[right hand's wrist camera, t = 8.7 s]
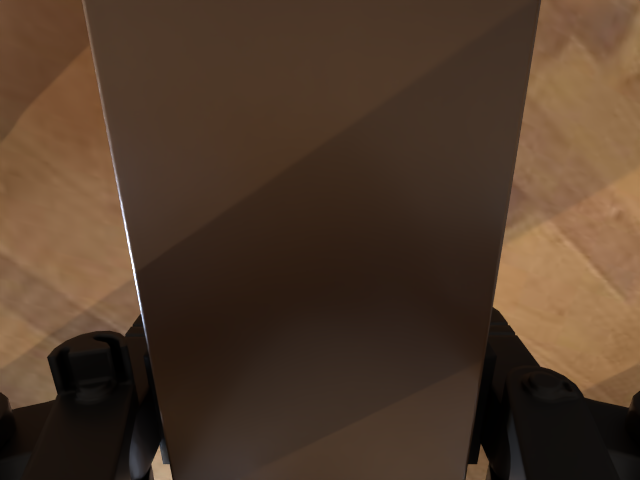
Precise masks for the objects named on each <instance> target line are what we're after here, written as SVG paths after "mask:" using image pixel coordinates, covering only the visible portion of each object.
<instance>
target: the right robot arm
mask: <svg viewBox="0 0 640 480" xmlns="http://www.w3.org/2000/svg"><path fill="white" fill-rule="evenodd" d="M125 335H126V336H125V337H124V336H123V335H122V334H120V333H116V332H112V331H95V332H91V333H86V334H82V335H79V336H77V337H74V338H72V339H69V340H67V341H65V342H64V343H62V344H61V345H59V346H58V347H56V348H55V349H54V350H53V351H52V352H51V353H50V354H49V356H48V357H47V359H48V362H49V366H50V369H51V373H52V376H53V380H54V383H55V387H56V390H57V394H58V395H57V397H56V399H55V400H52V401H49V402H45V403H40V404H35V405H31V406H26V407H22V408H17V409H11V406H10V403H9V400H8V398H7V397H6V396H5V395H3V394H2V393H0V480H154V477H153V470H152V465H151V463H152V461H153V459H154V456H155V454H156V452H157V449H158V447H159V445H160V450H161V455H162V460H163V464H170V463H169V458H168V452H167V447H166V442H165V437H164V431H163V426H162V421H161V415H160V410H159V405H158V400H157V394H156V389H155V384H154V379H153V373H152V368H151V363H150V357H149V352H148V347H147V342H146V336H145V331H144V326H143V321H142V315H141V314H140V315H139V317H138V318H137V319H136V321H135V322H134V323H133V327H131V328H130V329H129V330H128V332H127V333H126V334H125ZM481 444H482V447H483V449H484V451H485V454H486V456H487V458H488V460H489V465H488V470H487V475H486V480H640V391H639V392H638V393H636V394H635V395H634V396H633V398H632V401H631V404H630V407H629V408H627V407H623V406H618V405H613V404H609V403H604V402H599V401H595V400H591V399H588V398H584V396H583V394H582V393H581V391H580V390H579V388H578V387H577V386H576V384H574V383H573V382H572V381H570V380H569V379H568V378H566V377H565V376H564V375H561V374H559V373H557V372H555V371H553V370H551V369H547V368H543V367H540V366H539V364H538V363H537V362H536V360H535V359H534V357H533V356H532V355H531V353H530V352H529V351H528V349H527V348H526V347H525V345H524V344H523V343H522V341H521V340H520V339H519V337H518V336H517V335H515V332H514V331H513V329H512V328H511V327H510V325H508V323H507V321H506V320H505V319H504V317H503V316H502V315H501V313H500V312H499V311H498V310H496V309H495V308H492V314H491V320H490V327H489V333H488V339H487V346H486V352H485V358H484V365H483V371H482V377H481V384H480V390H479V396H478V403H477V409H476V415H475V422H474V428H473V434H472V441H471V447H470V453H469V460H468V464H477V462H478V457H479V451H480V446H481Z"/></svg>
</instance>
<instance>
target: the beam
mask: <svg viewBox="0 0 640 480" xmlns="http://www.w3.org/2000/svg"><path fill="white" fill-rule="evenodd" d="M82 4H83V9H84V15H85V20H86V25H87V30H88V36H89V41H90V46H91V52H92V57H93V62H94V67H95V73H96V78H97V83H98V88H99V94H100V99H101V104H102V110H103V115H104V120H105V125H106V131H107V136H108V141H109V146H110V152H111V157H112V162H113V168H114V173H115V178H116V183H117V189H118V194H119V199H120V204H121V210H122V215H123V220H124V226H125V231H126V236H127V241H128V247H129V252H130V257H131V262H132V268H133V273H134V278H135V284H136V289H137V294H138V299H139V305H140V310H141V315H142V321H143V326H144V331H145V336H146V342H147V347H148V352H149V357H150V363H151V368H152V373H153V379H154V384H155V389H156V394H157V400H158V405H159V410H160V415H161V421H162V426H163V431H164V437H165V442H166V447H167V452H168V458H169V463H170V468H171V473H172V479H173V480H465V479H466V472H467V466H468V460H469V453H470V447H471V441H472V434H473V428H474V422H475V415H476V409H477V403H478V396H479V390H480V384H481V377H482V371H483V365H484V358H485V352H486V346H487V339H488V333H489V327H490V320H491V314H492V308H493V301H494V295H495V289H496V282H497V276H498V270H499V263H500V257H501V251H502V244H503V238H504V232H505V225H506V219H507V213H508V206H509V200H510V194H511V187H512V181H513V175H514V168H515V162H516V156H517V149H518V143H519V137H520V130H521V124H522V118H523V111H524V105H525V99H526V92H527V86H528V80H529V73H530V67H531V61H532V54H533V48H534V42H535V35H536V29H537V23H538V16H539V10H540V4H541V0H82Z"/></svg>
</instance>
